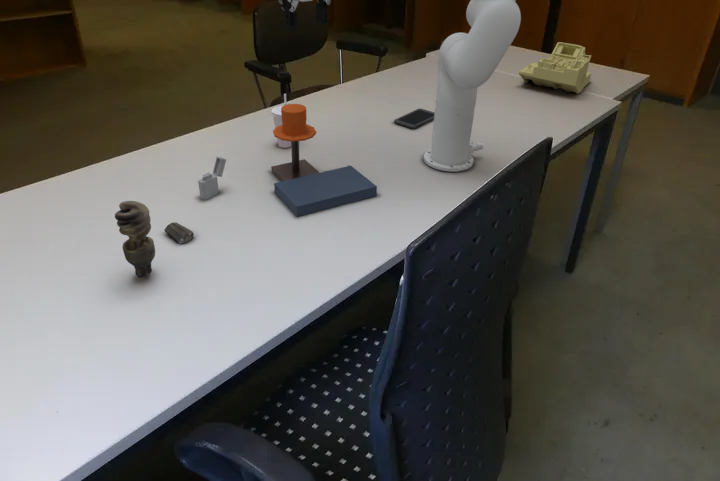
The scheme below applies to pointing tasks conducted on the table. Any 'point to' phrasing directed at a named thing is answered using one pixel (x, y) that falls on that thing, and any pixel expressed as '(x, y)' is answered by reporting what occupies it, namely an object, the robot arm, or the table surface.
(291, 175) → the hat stand
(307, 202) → the low stand
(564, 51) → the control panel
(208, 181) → the lighter
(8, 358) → the table surface
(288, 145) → the smoothie
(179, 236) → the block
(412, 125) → the cell phone
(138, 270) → the light bulb
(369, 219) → the table surface
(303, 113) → the hat
